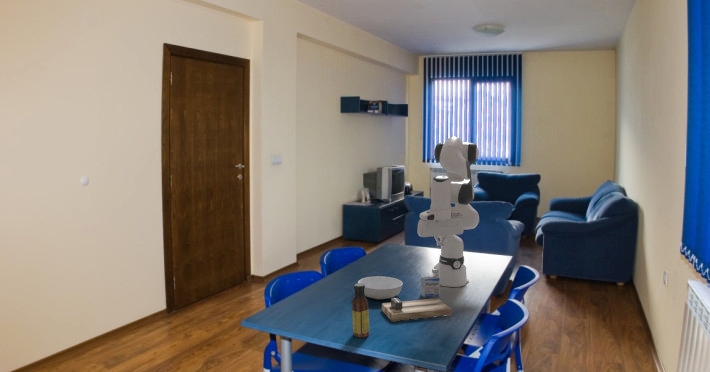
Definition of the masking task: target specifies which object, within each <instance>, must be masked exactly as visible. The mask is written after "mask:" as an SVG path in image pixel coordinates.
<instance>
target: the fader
mask: <svg viewBox="0 0 710 372" xmlns="http://www.w3.org/2000/svg"><path fill="white" fill-rule="evenodd" d="M390 303H391V306H392V307H393V308H394V309H395V310H400V309H402V300H401V299H400V298H398V297H392V298H390Z"/></svg>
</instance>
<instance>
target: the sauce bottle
mask: <svg viewBox="0 0 710 372" xmlns="http://www.w3.org/2000/svg"><path fill="white" fill-rule="evenodd" d="M364 288H365V285H364V284H362V283H358V282H357V283H355V284H353V289H354V297H353V299H352V301H351V306H352V307H351V312H352V313H351V314H352V316H351V317H352V318H351V319H352V334H353V336H354V337H355V338H367V337H368V336H370V317H369V315H370V312H369V300H368V299H367V296H365V294H364Z"/></svg>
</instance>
